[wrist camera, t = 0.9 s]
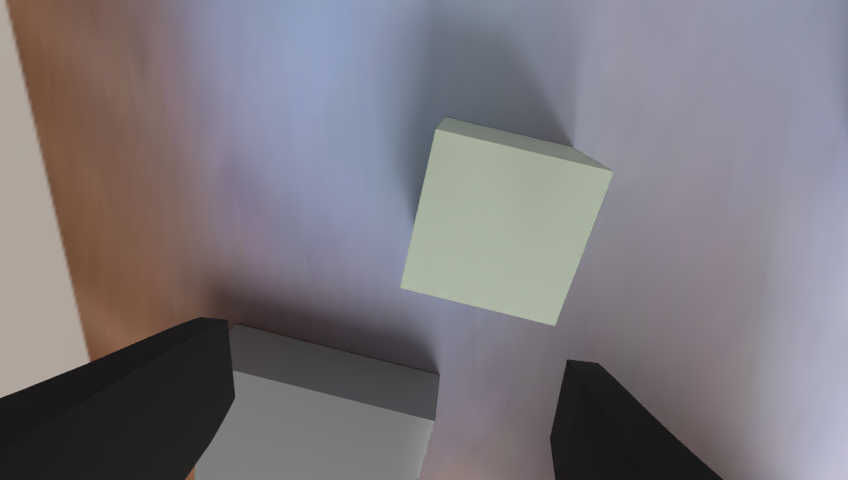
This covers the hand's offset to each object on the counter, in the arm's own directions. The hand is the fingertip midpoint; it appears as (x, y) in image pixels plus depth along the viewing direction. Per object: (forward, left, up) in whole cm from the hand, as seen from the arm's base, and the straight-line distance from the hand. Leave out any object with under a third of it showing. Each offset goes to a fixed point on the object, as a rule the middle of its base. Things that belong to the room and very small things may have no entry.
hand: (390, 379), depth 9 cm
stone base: (+3, +12, -10) cm, 15 cm away
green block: (-2, -2, -10) cm, 10 cm away
